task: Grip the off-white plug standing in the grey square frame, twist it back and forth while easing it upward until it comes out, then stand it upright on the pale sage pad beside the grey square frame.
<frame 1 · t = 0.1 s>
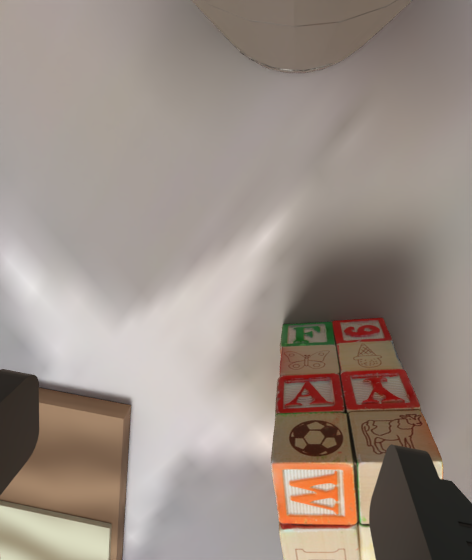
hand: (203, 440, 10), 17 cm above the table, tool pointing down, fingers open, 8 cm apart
base board: (4, 483, 36), on the table
stack of blocks: (339, 454, 31), on the table
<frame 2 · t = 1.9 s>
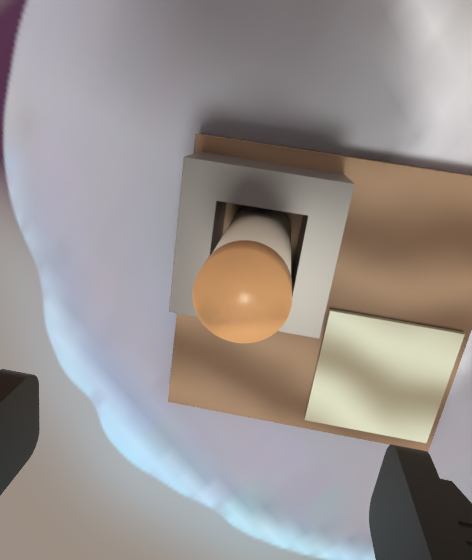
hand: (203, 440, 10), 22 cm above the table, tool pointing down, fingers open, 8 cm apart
plug: (260, 232, 30), point 1 cm above the table, touching base board
grey square frame: (260, 232, 30), resting on base board
base board: (321, 299, 32), on the table
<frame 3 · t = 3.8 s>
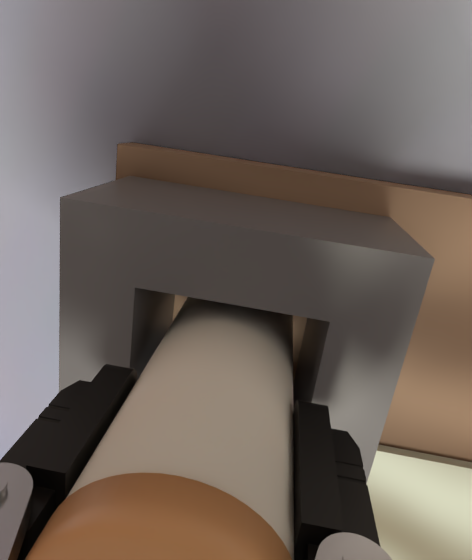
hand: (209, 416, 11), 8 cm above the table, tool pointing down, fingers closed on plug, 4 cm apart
plug: (239, 315, 17), point 1 cm above the table, touching base board, gripper
grey square frame: (239, 315, 17), resting on base board
base board: (341, 415, 19), on the table
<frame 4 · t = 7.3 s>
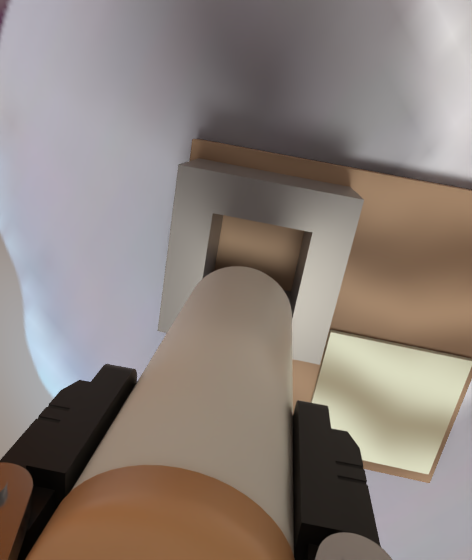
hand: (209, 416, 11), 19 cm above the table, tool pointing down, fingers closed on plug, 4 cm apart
plug: (238, 316, 17), point 13 cm above the table, touching gripper
grey square frame: (259, 246, 28), resting on base board
base board: (321, 318, 30), on the table
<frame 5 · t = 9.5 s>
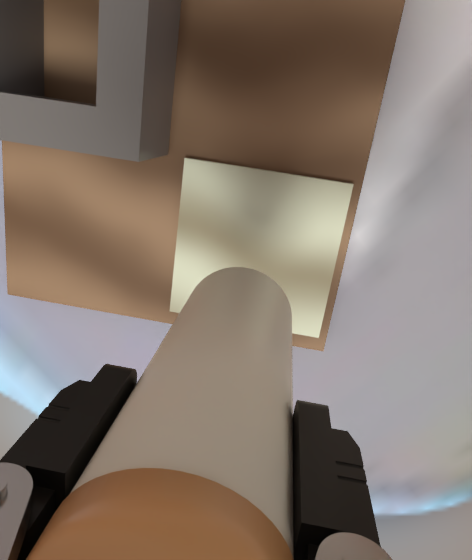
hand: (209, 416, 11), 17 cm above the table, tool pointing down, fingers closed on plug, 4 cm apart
plug: (238, 317, 17), point 11 cm above the table, touching gripper
grey square frame: (90, 51, 23), resting on base board
base board: (183, 154, 26), on the table
when the fingers open (9 cm above the table, at t = 11.2 s): plug stays where it is, resting on base board.
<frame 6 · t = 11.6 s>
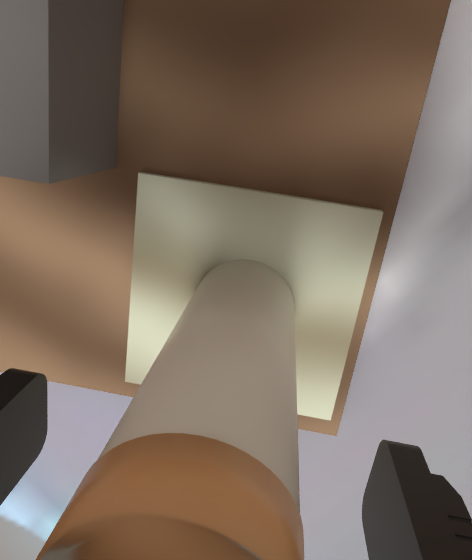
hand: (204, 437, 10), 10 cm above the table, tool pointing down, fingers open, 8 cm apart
plug: (243, 307, 18), point 2 cm above the table, touching base board
base board: (141, 166, 18), on the table
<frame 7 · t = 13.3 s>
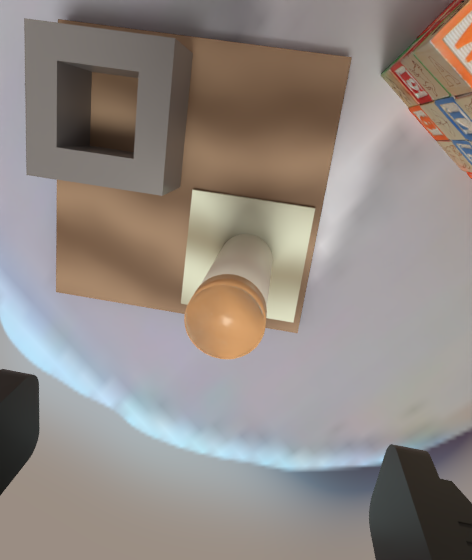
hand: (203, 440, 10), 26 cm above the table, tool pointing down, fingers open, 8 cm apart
plug: (246, 259, 34), point 2 cm above the table, touching base board
grey square frame: (124, 114, 32), resting on base board
base board: (191, 186, 35), on the table
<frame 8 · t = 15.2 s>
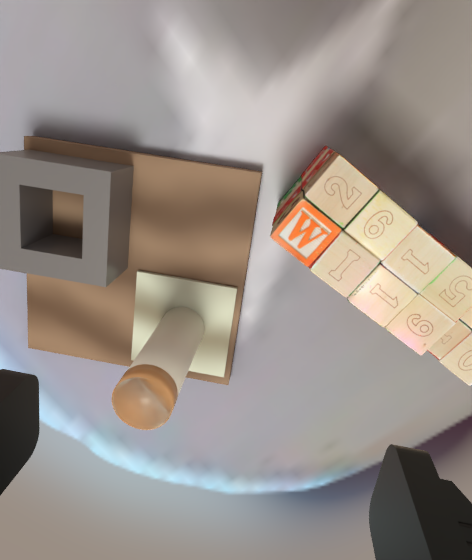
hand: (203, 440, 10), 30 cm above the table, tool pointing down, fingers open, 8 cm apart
plug: (182, 327, 41), point 2 cm above the table, touching base board
grey square frame: (80, 210, 39), resting on base board
base board: (138, 264, 41), on the table
stack of blocks: (393, 253, 39), on the table
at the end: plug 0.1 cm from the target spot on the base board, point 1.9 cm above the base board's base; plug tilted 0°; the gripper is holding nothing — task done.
